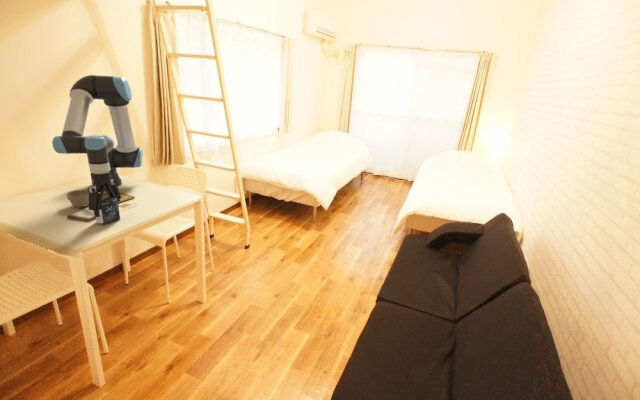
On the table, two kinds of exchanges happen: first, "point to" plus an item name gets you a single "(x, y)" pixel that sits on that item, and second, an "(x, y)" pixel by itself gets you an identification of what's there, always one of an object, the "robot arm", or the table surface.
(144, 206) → the table surface
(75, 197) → the flower pot
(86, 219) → the board
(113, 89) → the robot arm
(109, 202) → the box
